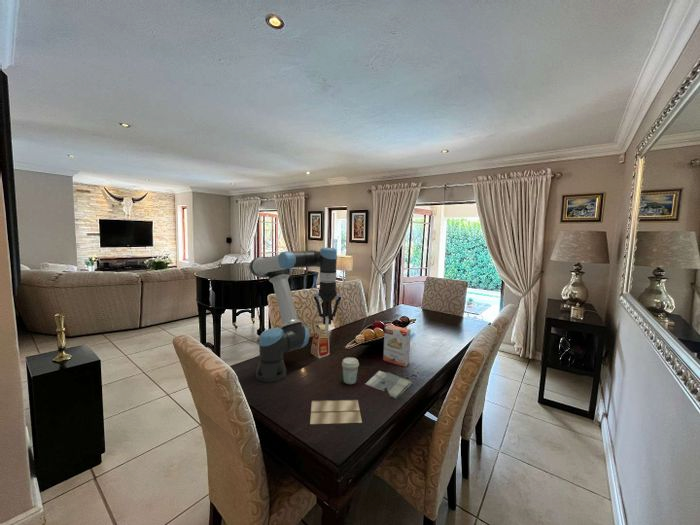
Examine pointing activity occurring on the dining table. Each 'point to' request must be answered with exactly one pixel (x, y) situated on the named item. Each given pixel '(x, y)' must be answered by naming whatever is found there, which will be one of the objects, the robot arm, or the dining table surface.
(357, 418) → the laid plank
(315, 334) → the milk carton
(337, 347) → the dining table surface
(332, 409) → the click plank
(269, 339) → the robot arm
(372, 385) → the dish towel
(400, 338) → the cracker box
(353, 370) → the coffee cup
